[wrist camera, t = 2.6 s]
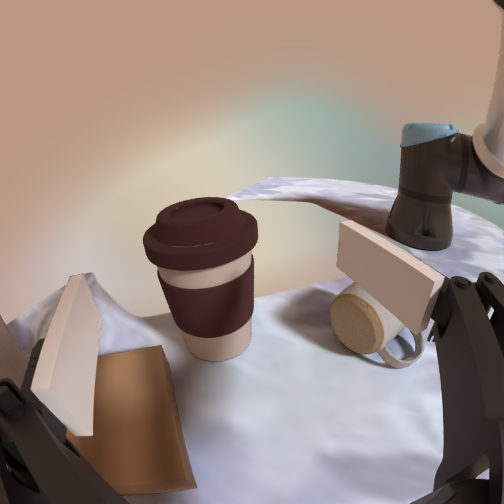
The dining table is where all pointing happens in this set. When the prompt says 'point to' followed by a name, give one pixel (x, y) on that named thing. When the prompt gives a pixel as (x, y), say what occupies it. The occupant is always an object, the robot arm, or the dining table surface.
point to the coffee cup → (207, 273)
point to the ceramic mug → (369, 326)
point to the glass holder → (11, 357)
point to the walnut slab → (136, 426)
